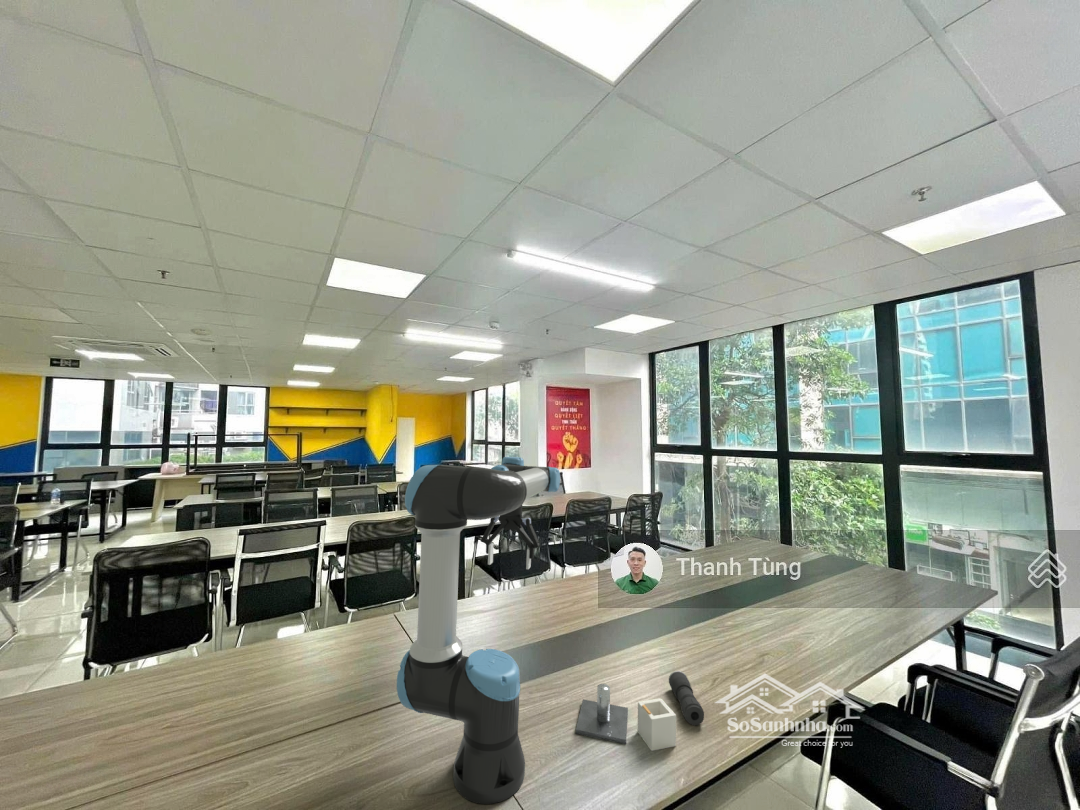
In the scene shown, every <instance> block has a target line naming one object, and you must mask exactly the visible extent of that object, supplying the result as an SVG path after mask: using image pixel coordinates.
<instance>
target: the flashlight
mask: <svg viewBox="0 0 1080 810" xmlns="http://www.w3.org/2000/svg"><path fill="white" fill-rule="evenodd" d="M668 684H669V686H670V688H671V690H672V692H673V694H674V696H675V698H676V699H677V701H679V706H680V708H681V713H682V715H683V717H684V719H685V721H686V722H687V723H688V724H690V725H691V726H700V724H702V723H703V722H704V719H705V711H704V709H703V707H702V705H701V703H700V702H699V701H698V699H697V698H696V697H695V695H694V690H693V688H692V685H691V683H690V680H689V679H688V676H687V675H686V674H685V673H684V672H683V671H681V670H675V671H672V672H671V673H670V675H669V676H668Z"/></svg>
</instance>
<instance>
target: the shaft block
mask: <svg viewBox="0 0 1080 810" xmlns="http://www.w3.org/2000/svg"><path fill="white" fill-rule="evenodd" d="M596 691H597V692H596V694H597V695H596V701H594V700H588V699H583V698H582V702H581V707H580V710H579V711H580V712H579V715H578V719H577V724H576V728H575V734H576V735H582V736H584V735H585V737H591V738H594V739H599V740H603V741H604V740H605V741H608V742H609V741H610V742H614V743H619V744H624V745H627V737H628V736H627V735H628V717H629V715H628V714H629V707H625V706H620V705H615V704H610V703H611V687H610V685H608V684H606V683H599V684H597V689H596Z"/></svg>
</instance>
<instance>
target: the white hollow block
mask: <svg viewBox="0 0 1080 810" xmlns="http://www.w3.org/2000/svg"><path fill="white" fill-rule="evenodd" d="M636 729H637V733H638V734H639V736H640V737H641V739H642V740H643V742H645V744H646V745H647V747H648V748H649V750H650V751H653V752H654V751H658V750H663V749H667V748H673V747H677V745H676V744H677V714H676V713H675V712H674V711H673V709H672V708H671V707H669V705H668V704H667V703H666V702H665V701H664V700H663V699H662V698H660V697H659V698H653V699H647V700H643V701H637V728H636Z"/></svg>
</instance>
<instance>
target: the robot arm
mask: <svg viewBox="0 0 1080 810" xmlns="http://www.w3.org/2000/svg"><path fill="white" fill-rule="evenodd" d="M560 482H561V473H560V470H559V469H558V468H557V467H554V466H553V467H551V466H535V465H533V466H532V465H529V466H528V465H525V461H524V458H523V457H521V456H503V458H502V461H501V464H497V465H495V466H493V467H491V468H487V467H486V468H485V467H478V466H477V467H476V466H475V467H474V466H461V465H459V466H458V465H450V464H449V465H447V464H428V465H427V464H426V465H423V466H421V467H419V468H418V469H417V470H415V472H414V473H413V475H412V476H411V478H410V480H409V481H408V483H407V487H406V489H405V494H404V507H405V508H406V511H407V513H408V514H410V515H412V516H414V517H415V518H414V527H415V529H417V530H418V531H419V532H420V533H421V534H420V535H421V538H420V539H421V541H420V558H419V559H420V561H419V562H420V563H419V566H420V567H419V582H418V583H419V585H418V606H417V607H418V608H417V609H418V611H417V631H416V632H417V633H416V640H415V641H414V642H412V643H411V645H410V647H409V650H408V651H407V652H406V653H405V654H404V655H403V657H402V659H401V662H400V664H399V666H400V669H399V670H398V671H397V676H396V692H397V698H398V700H399V702H400V703H401V705H402V706H403V707H404V708H407V709H409V710H413V711H414V712H417V713H419V714H428V715H433V716H436V717H437V716H438V717H442V718H446V719H450V720H453V721H460V722H462V723H463V736H462V739H461V741H460V744H459V747H458V750H457V752H456V756H455V759H454V764H453V775H452V776H453V777H452V778H453V784H454V787H455V789H456V791H457V792H458V793H459V794H460V795H461V796H462V797H463V798H464V799H466V800H468V801H470V802H472V803H476V804H481V805H490V804H496V803H500V802H503V801H505V800H507V799H509V798H511V797H512V796H514V794H516V793H517V792H518V791H519V789H520V788H521V787H522V784H523V782H524V779H525V774H526V769H525V768H526V760H525V759H526V758H525V755H524V752H523V748H522V744H521V740H520V736H519V713H520V712H519V711H520V692H521V682H520V668H519V665H518V664H517V662H516V661H515V659H514V658H513V657H512V656H511V655H510V654H509V653H506V652H504V651H503V650H499V649H493V648H486V649H485V650H484V649H477V650H475V651H473V652H472V653H471V654H469V656H465V655H463V642H462V640H461V639H460V638H459V637H458V636H457V623H458V622H457V620H458V615H457V614H458V596H459V595H458V594H459V592H458V591H459V589H458V588H459V569H460V567H459V565H460V541H461V532H462V531H463V530H464V529H465V527H467V524H468V520H469V521H482V520H488V519H490V520H489V524H488V525H487V527H486V529H485V531H484V533H483V535H482V536H481V539H480V542H481V543H485V554H487V565H489V566H490V565H492V564H493V563H494V544H495V543H493V541H494V540H495V539H496V538H497V537H498V535H499V534H500V533H501V532H502V531H503V530H505V531H511V532H514V531H516V532H517V533H518V534H519V536H520V537H521V538H522V540H523V541H524V543H525V544H526V545H527V549H526V564H525V565H526V567H525V569H526V570H530V568H531V564H532V559H534V556H535V549H538V547H540V542H539V539H538V536H537V534H536V531H535V529H534V528H533V525H532V518H531V517H527V518H523V504H524V503H525V501H526V500H528V499H530V498H532V497H533V496H536V495H539V494H540V493H543V492H547V493H551V492H552V493H555V492H558V490H559V488H560V484H561V483H560ZM498 521H499V523H500V525H499V526H498V527H497V529H496V530H495V531H494V532H493V533H492V530H493V528H494V526H495V524H496V523H497V522H498ZM522 524H524V525H525V527H526V528H527V529H526V530H527V532H528V533H529V535H528V533H527V532H526V531H525V529H524V527H523V526H522ZM491 533H492V534H491ZM489 536H490V537H489Z"/></svg>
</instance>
